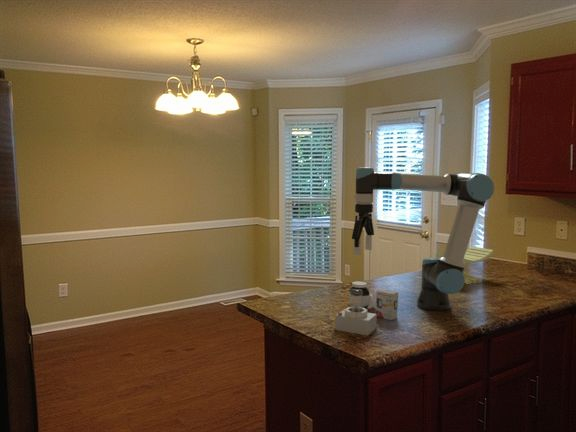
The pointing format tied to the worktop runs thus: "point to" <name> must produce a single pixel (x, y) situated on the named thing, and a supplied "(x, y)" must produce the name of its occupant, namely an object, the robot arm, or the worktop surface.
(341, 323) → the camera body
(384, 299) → the ink box
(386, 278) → the worktop surface
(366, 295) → the spread jar
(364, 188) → the robot arm
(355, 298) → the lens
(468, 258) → the slatted curved stool
